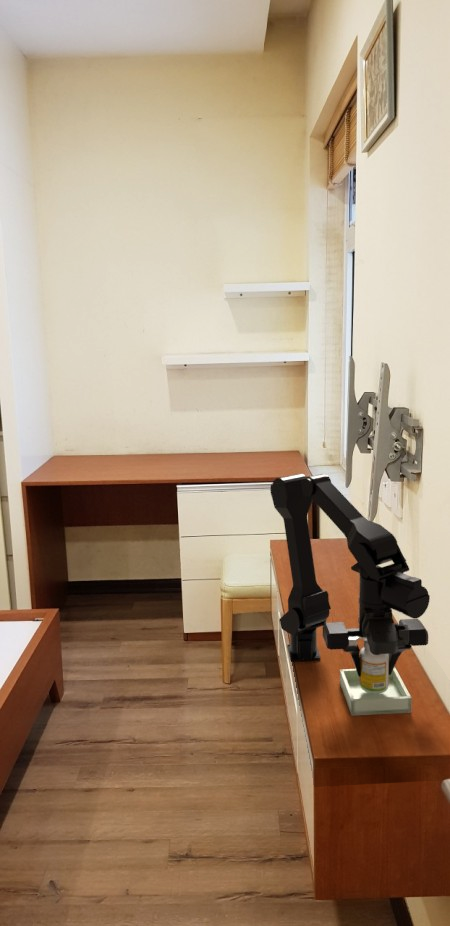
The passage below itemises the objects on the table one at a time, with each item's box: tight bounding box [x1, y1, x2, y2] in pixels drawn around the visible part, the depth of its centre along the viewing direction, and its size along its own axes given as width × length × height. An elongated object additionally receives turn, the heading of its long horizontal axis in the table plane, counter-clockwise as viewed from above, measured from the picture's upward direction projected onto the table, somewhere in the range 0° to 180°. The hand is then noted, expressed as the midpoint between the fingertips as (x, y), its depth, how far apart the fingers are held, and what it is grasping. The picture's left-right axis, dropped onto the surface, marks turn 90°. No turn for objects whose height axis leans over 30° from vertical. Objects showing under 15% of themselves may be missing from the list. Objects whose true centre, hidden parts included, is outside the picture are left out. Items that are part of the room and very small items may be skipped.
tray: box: [339, 666, 412, 717], centre depth 127 cm, size 11×11×3 cm
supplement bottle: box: [359, 639, 389, 694], centre depth 126 cm, size 5×5×10 cm
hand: (373, 674), depth 126 cm, fingers closed on supplement bottle, 5 cm apart
